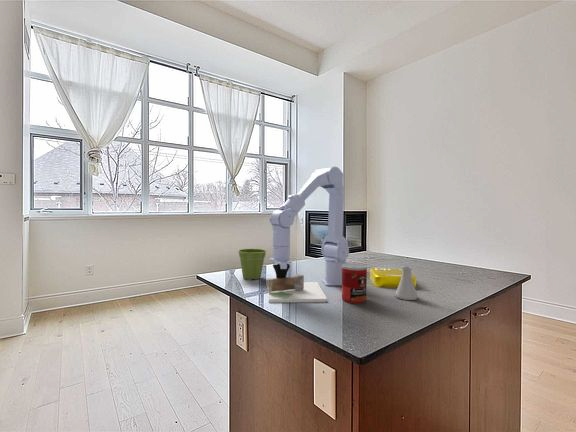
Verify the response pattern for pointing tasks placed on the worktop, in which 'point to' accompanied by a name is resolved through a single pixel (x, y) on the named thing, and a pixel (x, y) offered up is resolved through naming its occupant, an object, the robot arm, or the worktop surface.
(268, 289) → the brown bar
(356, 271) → the canned food
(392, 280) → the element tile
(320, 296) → the dial plate
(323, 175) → the robot arm
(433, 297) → the worktop surface
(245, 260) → the plant pot
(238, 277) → the worktop surface
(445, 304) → the worktop surface
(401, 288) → the flask
